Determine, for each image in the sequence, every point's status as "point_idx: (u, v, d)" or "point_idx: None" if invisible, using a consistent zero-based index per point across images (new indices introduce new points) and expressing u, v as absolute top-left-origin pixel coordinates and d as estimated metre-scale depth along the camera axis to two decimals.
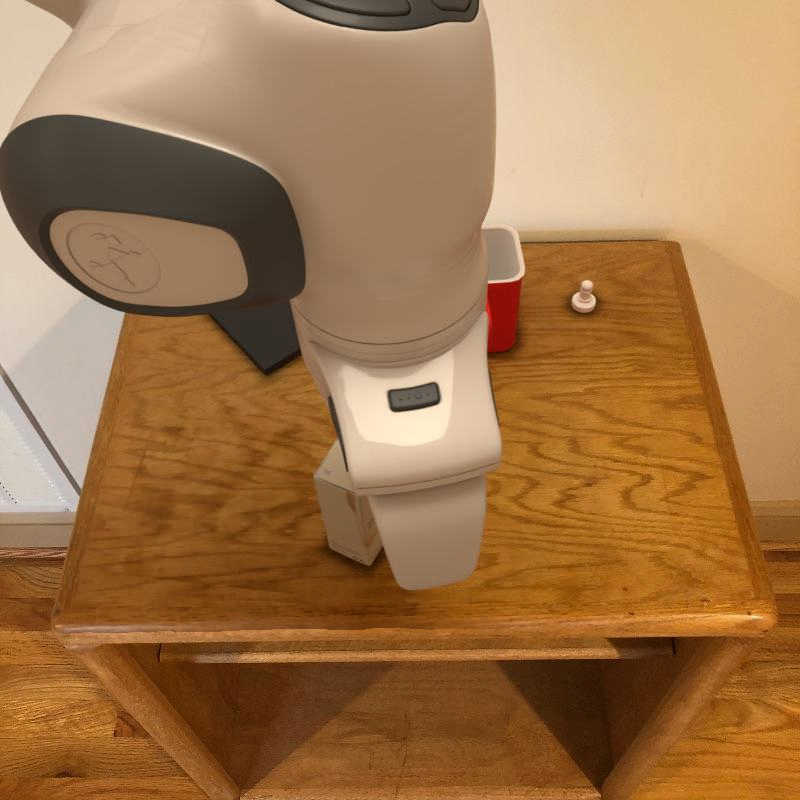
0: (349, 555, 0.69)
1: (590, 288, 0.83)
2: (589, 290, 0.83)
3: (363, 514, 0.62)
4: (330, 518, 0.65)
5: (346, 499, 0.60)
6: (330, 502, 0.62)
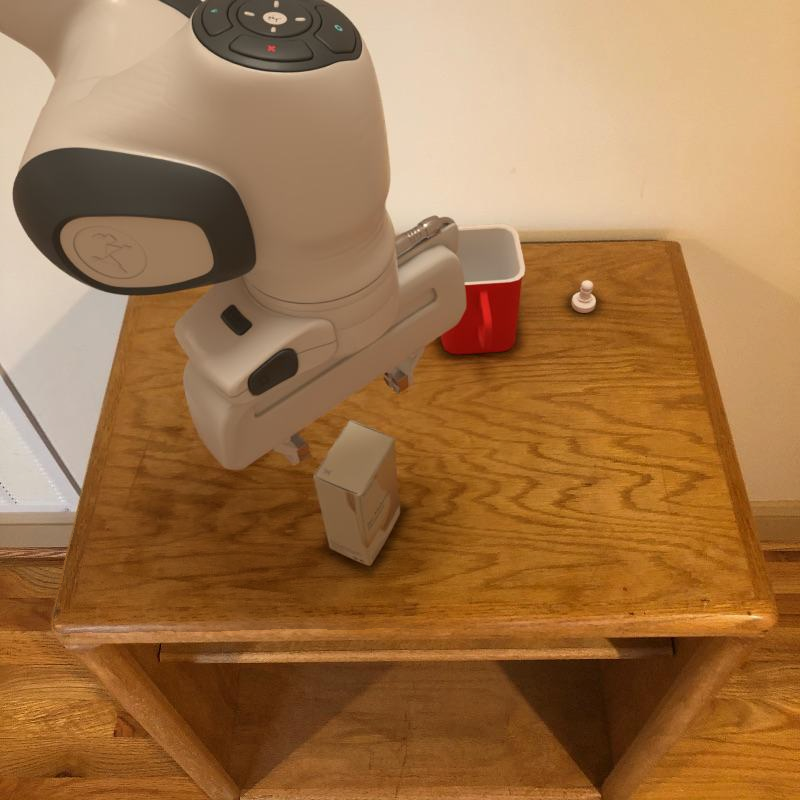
0: (349, 555, 0.69)
1: (590, 288, 0.83)
2: (589, 290, 0.83)
3: (363, 514, 0.62)
4: (330, 518, 0.65)
5: (346, 499, 0.60)
6: (330, 502, 0.62)
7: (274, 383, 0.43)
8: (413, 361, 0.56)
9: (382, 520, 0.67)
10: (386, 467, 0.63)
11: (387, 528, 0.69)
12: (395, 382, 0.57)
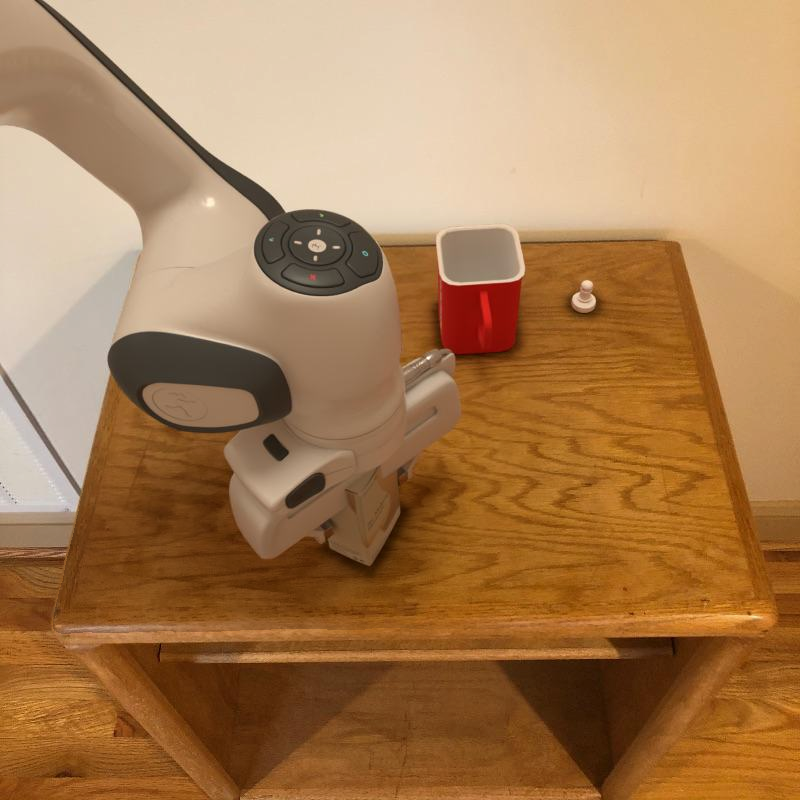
0: (349, 555, 0.69)
1: (590, 288, 0.83)
2: (589, 290, 0.83)
3: (364, 514, 0.62)
4: (330, 518, 0.65)
5: (346, 499, 0.60)
6: None
7: (306, 498, 0.53)
8: (412, 461, 0.66)
9: (382, 520, 0.67)
10: None
11: (387, 528, 0.69)
12: None
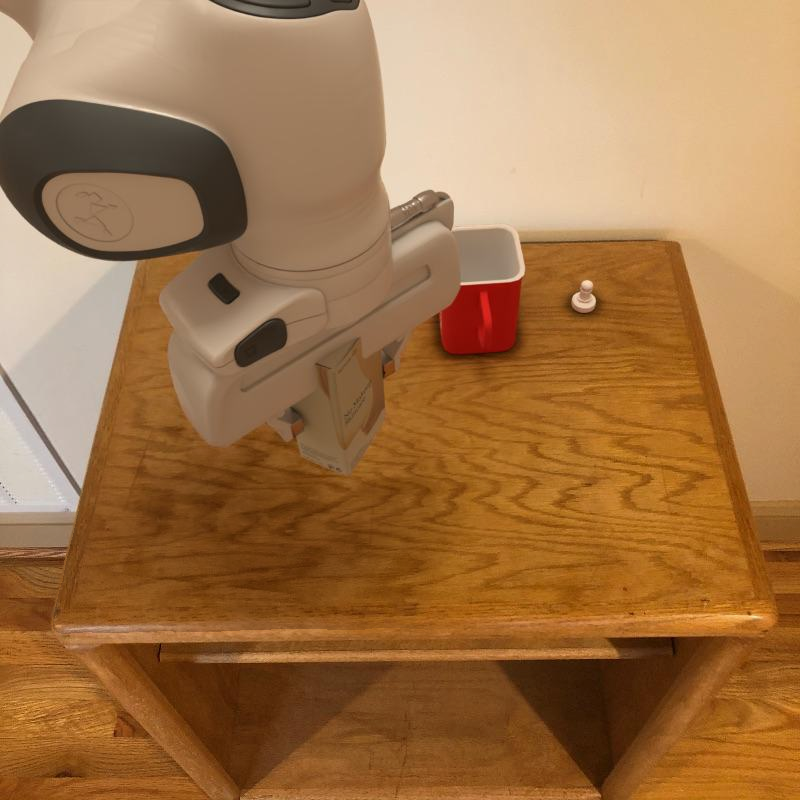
0: (323, 463, 0.57)
1: (590, 288, 0.83)
2: (589, 290, 0.83)
3: (339, 400, 0.50)
4: (299, 410, 0.53)
5: (317, 378, 0.49)
6: None
7: (262, 355, 0.42)
8: (400, 345, 0.55)
9: (363, 418, 0.55)
10: None
11: (370, 432, 0.57)
12: None
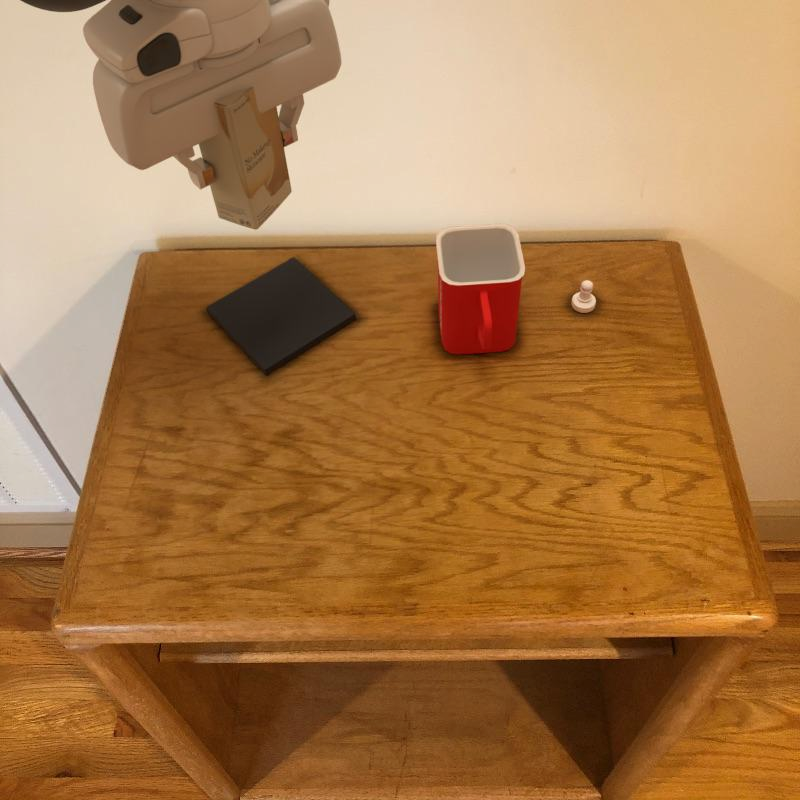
0: (236, 219, 0.69)
1: (590, 288, 0.83)
2: (589, 290, 0.83)
3: (238, 141, 0.62)
4: (210, 162, 0.65)
5: (218, 119, 0.61)
6: None
7: (161, 67, 0.54)
8: (295, 113, 0.67)
9: (266, 175, 0.67)
10: None
11: (275, 195, 0.70)
12: None
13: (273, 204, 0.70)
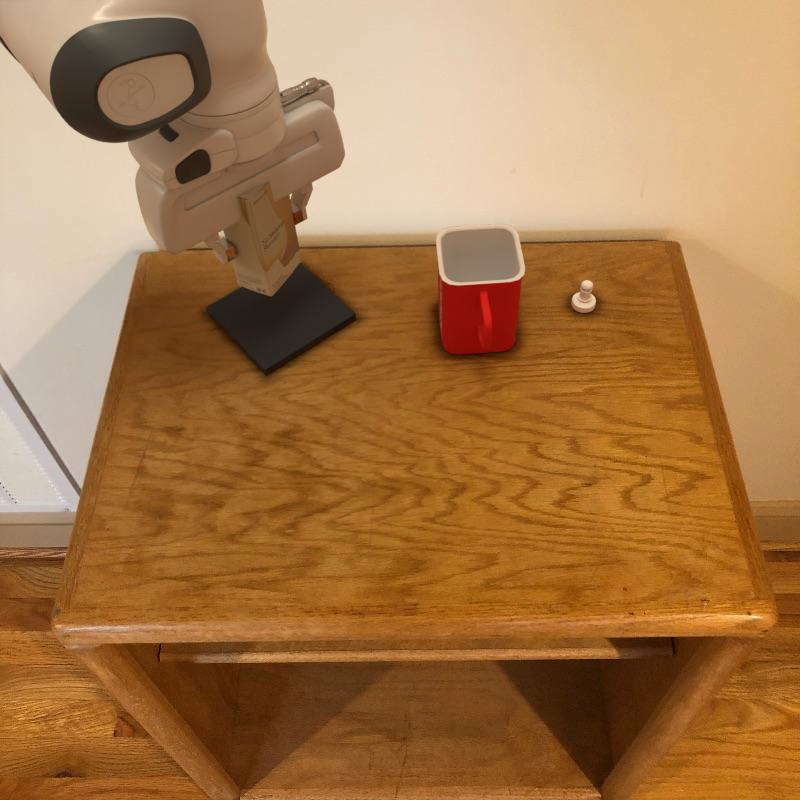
0: (253, 287, 0.79)
1: (590, 288, 0.83)
2: (589, 290, 0.83)
3: (256, 227, 0.72)
4: (232, 241, 0.75)
5: (240, 209, 0.71)
6: None
7: (194, 176, 0.64)
8: (304, 197, 0.77)
9: (279, 250, 0.78)
10: None
11: (287, 265, 0.80)
12: None
13: (286, 273, 0.80)
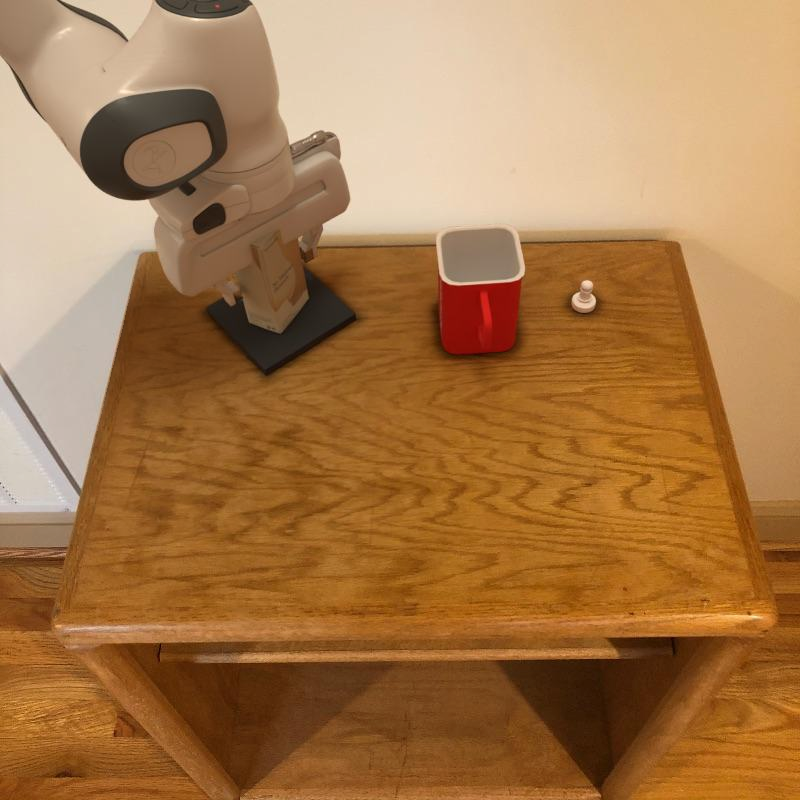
0: (264, 325, 0.84)
1: (590, 288, 0.83)
2: (589, 290, 0.83)
3: (267, 271, 0.77)
4: (244, 283, 0.80)
5: (252, 256, 0.76)
6: None
7: (210, 227, 0.69)
8: (315, 238, 0.81)
9: (288, 291, 0.82)
10: None
11: (295, 304, 0.84)
12: (304, 253, 0.82)
13: (294, 311, 0.85)
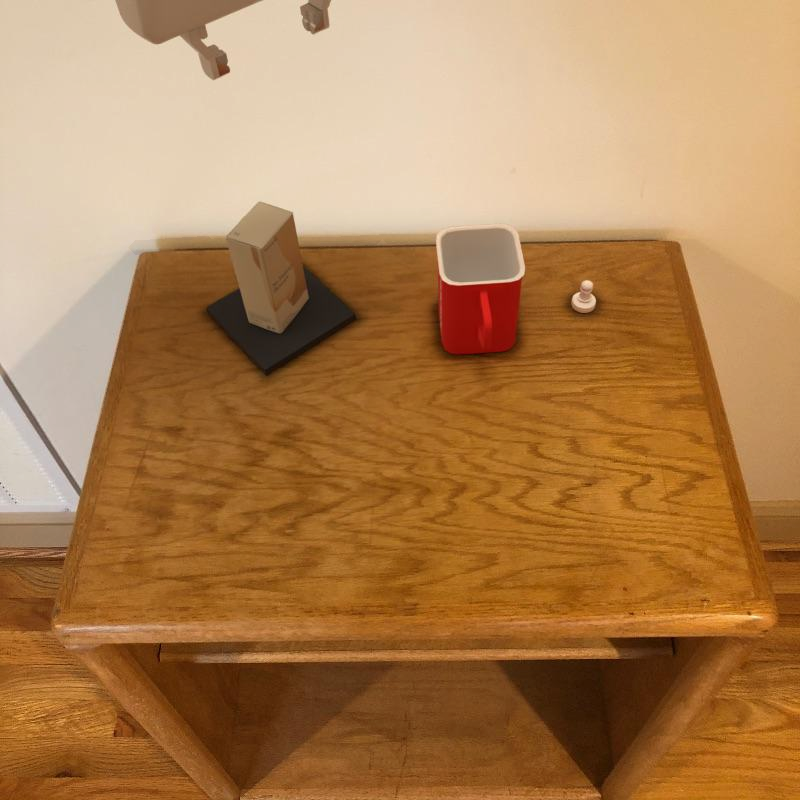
0: (264, 325, 0.84)
1: (590, 288, 0.83)
2: (589, 290, 0.83)
3: (267, 271, 0.77)
4: (244, 283, 0.80)
5: (252, 256, 0.76)
6: (241, 263, 0.78)
7: None
8: None
9: (288, 291, 0.82)
10: (286, 236, 0.78)
11: (295, 304, 0.84)
12: (311, 18, 0.62)
13: (294, 311, 0.85)
